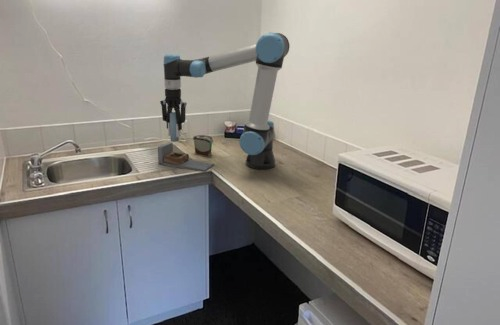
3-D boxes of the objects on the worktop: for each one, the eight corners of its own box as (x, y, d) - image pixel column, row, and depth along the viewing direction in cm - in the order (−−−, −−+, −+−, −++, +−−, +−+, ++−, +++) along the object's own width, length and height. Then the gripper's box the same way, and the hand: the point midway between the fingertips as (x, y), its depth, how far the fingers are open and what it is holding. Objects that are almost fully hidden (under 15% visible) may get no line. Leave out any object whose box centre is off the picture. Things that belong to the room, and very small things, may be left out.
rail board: (169, 158, 199) (168, 141, 196) (213, 165, 191) (213, 148, 188) (158, 164, 190) (157, 147, 187) (204, 171, 182) (204, 154, 179)
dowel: (173, 139, 191) (172, 111, 186) (180, 140, 190) (179, 112, 185) (169, 141, 188) (168, 113, 183) (176, 142, 186) (175, 114, 182)
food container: (217, 154, 207) (217, 137, 204) (211, 157, 202) (210, 139, 199) (200, 150, 213) (200, 133, 210) (193, 153, 208) (192, 136, 205)
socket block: (173, 157, 197) (173, 151, 196) (188, 159, 194) (188, 153, 194) (164, 162, 189) (163, 156, 188) (179, 164, 187) (179, 159, 186)
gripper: (153, 87, 179) (155, 135, 187) (184, 90, 174) (185, 139, 182) (161, 85, 186) (163, 131, 194) (192, 88, 181) (193, 135, 188)
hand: (174, 135), depth 188 cm, fingers closed on dowel, 4 cm apart
